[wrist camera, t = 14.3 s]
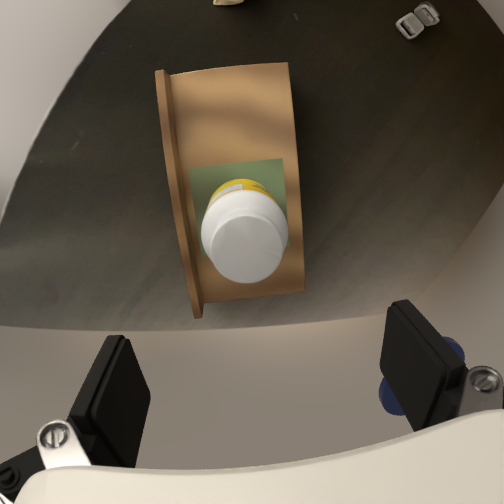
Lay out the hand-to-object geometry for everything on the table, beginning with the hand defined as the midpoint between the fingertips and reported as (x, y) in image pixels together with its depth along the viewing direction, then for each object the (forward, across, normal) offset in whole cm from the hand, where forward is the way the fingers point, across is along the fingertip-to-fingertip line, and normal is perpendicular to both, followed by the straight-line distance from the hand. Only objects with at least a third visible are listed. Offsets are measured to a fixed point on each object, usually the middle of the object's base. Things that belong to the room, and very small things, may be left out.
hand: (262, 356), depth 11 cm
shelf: (+28, 0, -2) cm, 28 cm away
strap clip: (+28, -26, -23) cm, 45 cm away
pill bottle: (+22, 0, 0) cm, 22 cm away
